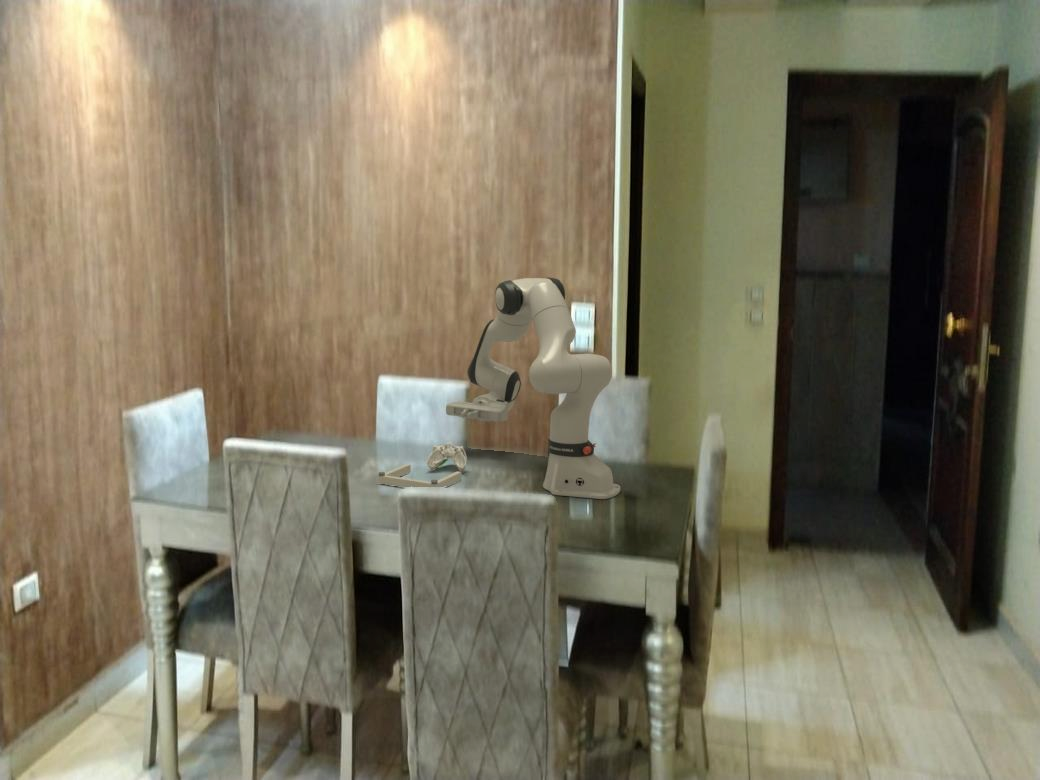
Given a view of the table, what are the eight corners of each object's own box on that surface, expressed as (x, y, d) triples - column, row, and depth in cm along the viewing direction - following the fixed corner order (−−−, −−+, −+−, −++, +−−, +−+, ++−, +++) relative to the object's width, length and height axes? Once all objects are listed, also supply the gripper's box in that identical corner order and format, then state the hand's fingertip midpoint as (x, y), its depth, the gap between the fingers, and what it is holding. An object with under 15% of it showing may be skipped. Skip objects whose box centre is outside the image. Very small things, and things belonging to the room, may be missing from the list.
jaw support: (473, 455, 286) (469, 440, 278) (469, 480, 281) (465, 465, 273) (435, 454, 287) (430, 438, 279) (431, 478, 282) (426, 463, 274)
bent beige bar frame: (461, 480, 268) (461, 469, 268) (435, 493, 254) (435, 482, 254) (405, 471, 276) (405, 461, 276) (377, 484, 262) (377, 473, 262)
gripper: (457, 395, 304) (436, 402, 292) (512, 402, 296) (493, 409, 284) (456, 413, 306) (436, 421, 293) (511, 421, 297) (493, 429, 285)
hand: (465, 415), depth 288 cm, fingers closed
